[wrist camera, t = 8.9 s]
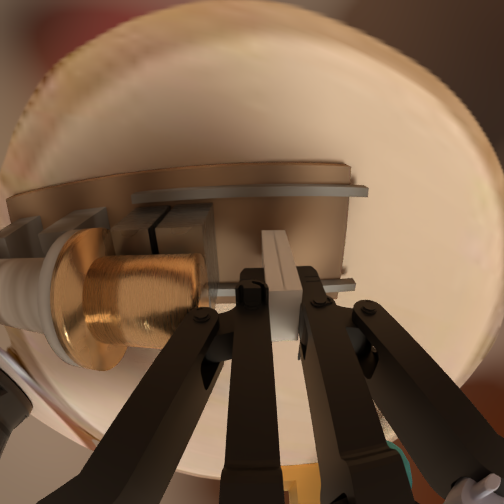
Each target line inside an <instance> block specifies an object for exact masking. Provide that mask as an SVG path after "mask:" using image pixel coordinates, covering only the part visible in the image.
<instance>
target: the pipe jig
mask: <svg viewBox="0 0 504 504" xmlns="http://www.w3.org/2000/svg"><path fill="white" fill-rule="evenodd" d="M350 177H351V166H348V165H346V164H331V163H236V164H215V165H200V166H187V167H176V168H165V169H156V170H147V171H139V172H131V173H124V174H117V175H110V176H104V177H98V178H92V179H86V180H81V181H75V182H70V183H65V184H60V185H56V186H51V187H46V188H42V189H38V190H34V191H29V192H25V193H22V194H18V195H14V196H12V197H10V198H8V199H6V202H7V207H8V212H9V216H10V220H11V224H10V225H8V226H7V227H5V228H3V229H2V230H0V324H2V325H6V326H10V327H14V328H18V329H23V330H27V331H32V332H37V333H42V334H44V335H45V337H46V339H47V341H48V343H49V345H50V346H51V348H52V349H53V351H54V352H55V353H56V354H57V356H58V357H59V358H61V359H62V360H63V361H64V362H66V363H68V364H70V365H73V366H77V367H81V366H79V365H77V364H76V363H75V362H74V361H72V360H71V359H70V358H69V356H68V355H67V354H66V353H65V351H64V349H63V348H62V346H61V344H60V342H59V340H58V338H57V335H56V332H55V329H54V325H53V321H52V316H51V308H50V287H51V279H52V274H53V269H54V266H55V263H56V260H57V257H58V255H59V253H60V251H61V249H62V247H63V246H64V244H65V243H66V242H67V240H68V239H69V238H70V237H71V236H72V235H73V234H74V233H76V232H78V231H80V230H82V229H89V228H106V229H108V230H110V229H111V228H112V227H113V226H115V225H116V224H117V223H118V222H119V221H121V220H122V219H123V218H124V217H125V216H127V215H128V214H129V213H130V212H132V211H133V210H134V209H135V208H138V207H150V206H164V205H170V209H171V210H172V209H173V207H174V206H175V205H178V204H195V203H213V209H214V222H215V234H216V246H217V257H218V268H219V279H220V282H219V287H218V293H217V299H216V304H219V303H236V297H235V287H236V285H237V284H238V283H239V280H240V273H241V271H242V270H243V269H244V268H262V230H285V232H286V235H287V238H288V242H289V245H290V248H291V252H292V255H293V258H294V262H295V265H296V266H312V267H313V268H314V269H316V270H317V273H318V275H319V277H320V280H321V282H322V285H323V287H324V290H325V292H326V295H328V296H330V297H331V298H332V299H337V296H338V292H344V291H355V286H356V283H355V281H354V280H353V278H348V279H340V277H341V270H342V262H343V255H344V246H345V238H346V228H347V218H348V206H349V197H368V189H369V188H367V187H366V186H364V185H350ZM82 368H84V367H82Z"/></svg>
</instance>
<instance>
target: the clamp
mask: <svg viewBox="0 0 504 504" xmlns="http://www.w3.org/2000/svg"><path fill="white" fill-rule="evenodd" d="M281 469H282V474H283V485H284V491H289V499H290V504H320V490H321V479H320V472H319V465H318V463H312V464H301V465H289V466H281Z"/></svg>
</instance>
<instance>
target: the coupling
mask: <svg viewBox="0 0 504 504" xmlns="http://www.w3.org/2000/svg"><path fill="white" fill-rule="evenodd" d="M219 282H220V279H219V268H218V257H217V246H216V234H215V222H214V209H213V203H195V204H178V205H175V206H174V207H173V209H172V210H171V209H170V205H164V206H150V207H138V208H135V209H134V210H133V211H132V212H130V213H129V214H128V215H127V216H125V217H124V218H123V219H122V220H121V221H119V222H118V223H117V224H116V225H115V226H113V227H112V228H111V229H110V230H108V229H106V228H89V229H82V230H80V231H78V232H76V233H74V234H73V235H72V236H71V237H70V238H69V239H68V240H67V242H66V243H65V244H64V246H63V247H62V249H61V251H60V253H59V255H58V257H57V260H56V263H55V266H54V269H53V274H52V279H51V287H50V308H51V316H52V321H53V325H54V329H55V332H56V335H57V338H58V340H59V342H60V344H61V346H62V348H63V349H64V351H65V353H66V354H67V355H68V356H69V358H70V359H71V360H72V361H74V362H75V363H76V364H77V365H79V366H81V367H84V368H87V369H92V370H98V371H106V370H110V369H112V368H113V367H115V366H116V365H117V364H118V363H119V362H120V360H121V359H122V357H123V356H124V354H125V352H126V349H127V347H128V346H133V347H145V348H158V349H163V347H164V346H165V344H166V343H167V342H168V340H169V339H170V337H171V336H172V334H173V333H174V331H175V330H176V329H177V327H178V326H179V324H180V323H181V321H182V320H183V319H184V317H185V316H186V314H187V313H188V312H189V311H190V310H192V309H195V308H198V307H210V308H213V309H214V310H215V305H216V299H217V293H218V287H219Z"/></svg>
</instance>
